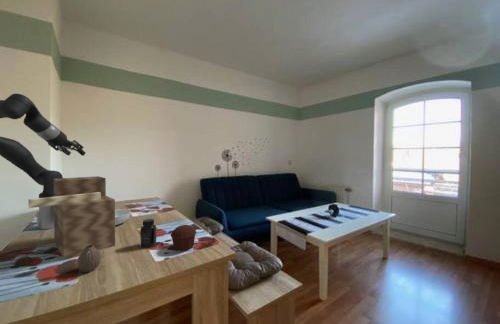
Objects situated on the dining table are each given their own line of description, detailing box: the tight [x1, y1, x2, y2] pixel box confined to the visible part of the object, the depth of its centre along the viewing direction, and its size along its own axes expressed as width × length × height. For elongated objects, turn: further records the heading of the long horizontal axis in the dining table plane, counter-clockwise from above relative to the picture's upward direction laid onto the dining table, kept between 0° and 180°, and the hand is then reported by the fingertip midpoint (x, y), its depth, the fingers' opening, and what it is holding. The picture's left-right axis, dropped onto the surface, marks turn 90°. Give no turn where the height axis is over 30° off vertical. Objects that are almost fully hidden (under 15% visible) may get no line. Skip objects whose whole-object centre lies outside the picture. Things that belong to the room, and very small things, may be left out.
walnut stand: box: [53, 175, 116, 261], centre depth 97 cm, size 18×26×31 cm
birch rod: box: [27, 192, 101, 209], centre depth 88 cm, size 23×3×3 cm, turn 140°
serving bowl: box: [115, 208, 132, 226], centre depth 125 cm, size 21×21×7 cm
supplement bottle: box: [139, 218, 157, 248], centre depth 97 cm, size 7×7×12 cm
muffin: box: [170, 224, 197, 252], centre depth 95 cm, size 12×11×10 cm
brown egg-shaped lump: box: [76, 245, 102, 273], centre depth 76 cm, size 7×7×9 cm
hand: (76, 154), depth 109 cm, fingers open, 8 cm apart
